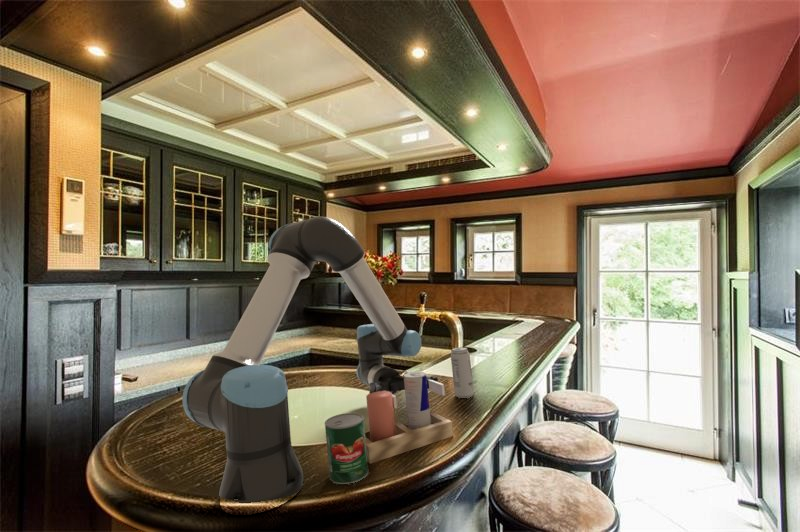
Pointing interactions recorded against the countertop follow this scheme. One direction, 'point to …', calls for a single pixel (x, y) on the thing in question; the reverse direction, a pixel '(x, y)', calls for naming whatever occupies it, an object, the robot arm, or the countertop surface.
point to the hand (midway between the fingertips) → (420, 395)
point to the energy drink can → (462, 372)
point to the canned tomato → (346, 448)
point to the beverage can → (417, 400)
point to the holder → (409, 438)
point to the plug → (380, 415)
